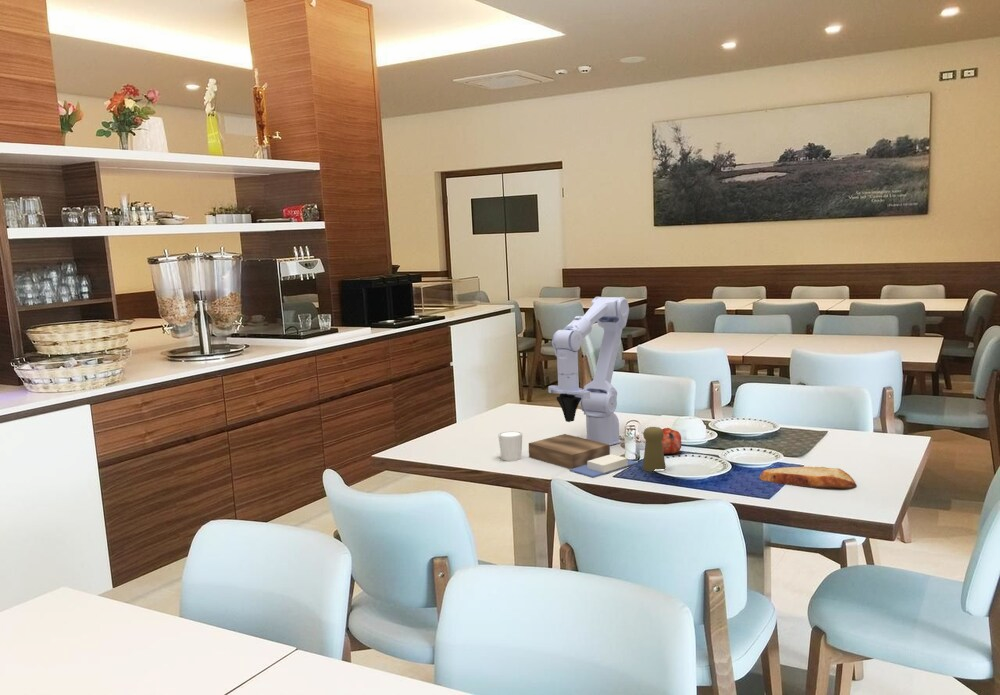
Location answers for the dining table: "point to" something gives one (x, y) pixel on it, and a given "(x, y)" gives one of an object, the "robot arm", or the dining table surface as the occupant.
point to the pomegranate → (671, 441)
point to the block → (607, 463)
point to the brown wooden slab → (567, 450)
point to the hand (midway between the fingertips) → (569, 421)
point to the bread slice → (810, 477)
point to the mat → (593, 473)
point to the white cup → (510, 445)
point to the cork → (653, 449)
